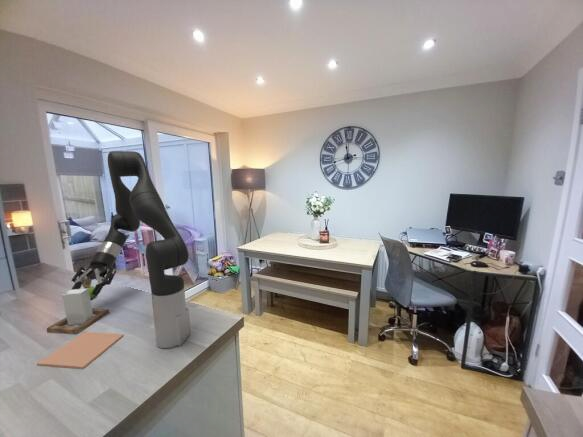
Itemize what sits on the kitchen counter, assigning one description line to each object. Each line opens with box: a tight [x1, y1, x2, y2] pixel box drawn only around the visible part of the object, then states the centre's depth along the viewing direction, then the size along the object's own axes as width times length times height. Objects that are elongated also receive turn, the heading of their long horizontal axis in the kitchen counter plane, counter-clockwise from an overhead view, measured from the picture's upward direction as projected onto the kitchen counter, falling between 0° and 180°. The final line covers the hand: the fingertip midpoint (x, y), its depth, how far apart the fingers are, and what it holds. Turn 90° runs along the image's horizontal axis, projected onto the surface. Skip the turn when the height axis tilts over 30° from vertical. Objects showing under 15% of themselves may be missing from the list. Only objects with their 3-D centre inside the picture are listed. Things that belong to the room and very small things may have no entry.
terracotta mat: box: [36, 331, 125, 370], centre depth 72 cm, size 14×14×1 cm
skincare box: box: [61, 288, 94, 326], centre depth 85 cm, size 6×4×12 cm
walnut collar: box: [46, 308, 110, 335], centre depth 86 cm, size 11×13×2 cm
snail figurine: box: [81, 276, 95, 300], centre depth 102 cm, size 5×6×12 cm
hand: (83, 294), depth 87 cm, fingers open, 8 cm apart
